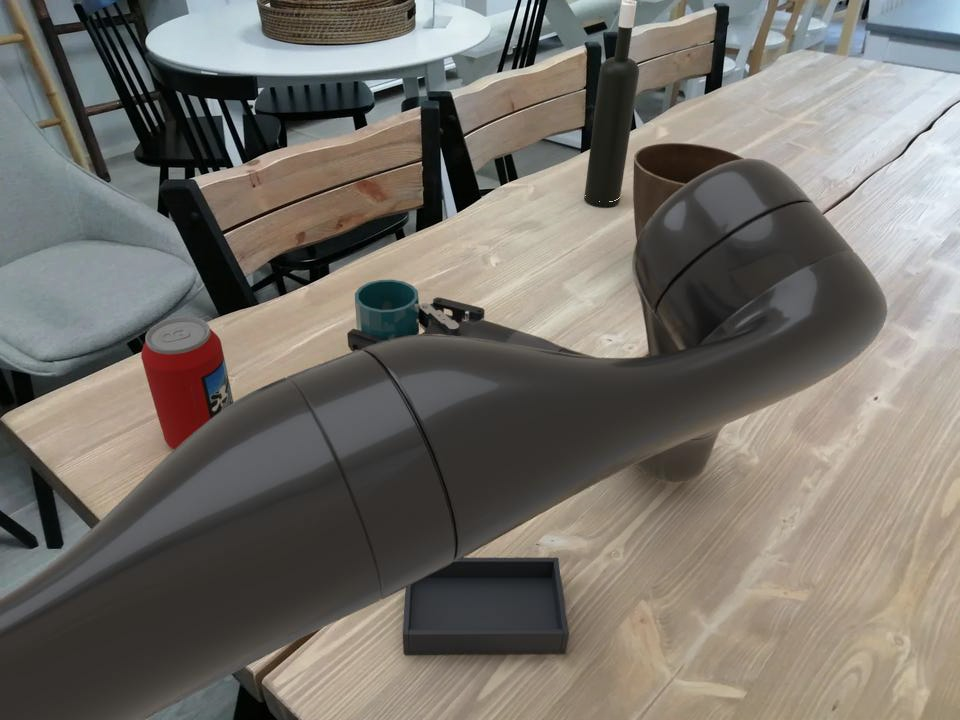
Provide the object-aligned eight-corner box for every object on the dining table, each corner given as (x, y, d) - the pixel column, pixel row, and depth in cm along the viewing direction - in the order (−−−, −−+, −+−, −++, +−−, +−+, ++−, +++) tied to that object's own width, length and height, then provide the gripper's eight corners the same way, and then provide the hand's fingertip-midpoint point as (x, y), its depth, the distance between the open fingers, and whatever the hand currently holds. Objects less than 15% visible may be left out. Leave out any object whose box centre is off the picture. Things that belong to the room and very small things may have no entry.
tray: (403, 655, 53) (402, 634, 52) (408, 577, 59) (407, 557, 58) (565, 654, 54) (569, 633, 53) (555, 577, 59) (558, 557, 58)
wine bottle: (587, 191, 124) (612, -5, 107) (621, 196, 123) (652, -2, 105) (580, 204, 120) (605, 1, 102) (616, 210, 118) (647, 5, 101)
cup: (391, 399, 77) (387, 318, 71) (348, 376, 80) (341, 296, 74) (431, 371, 81) (431, 293, 76) (388, 350, 85) (385, 273, 79)
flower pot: (693, 246, 109) (717, 139, 99) (748, 297, 97) (781, 181, 88) (599, 255, 105) (615, 145, 96) (644, 309, 94) (667, 190, 84)
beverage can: (247, 445, 71) (226, 342, 64) (174, 469, 68) (144, 363, 61) (228, 406, 75) (207, 305, 68) (159, 426, 73) (130, 323, 66)
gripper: (543, 302, 75) (404, 262, 81) (478, 376, 65) (324, 324, 71) (537, 362, 80) (406, 320, 86) (476, 440, 69) (331, 386, 75)
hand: (369, 322), depth 78 cm, fingers closed on cup, 6 cm apart
